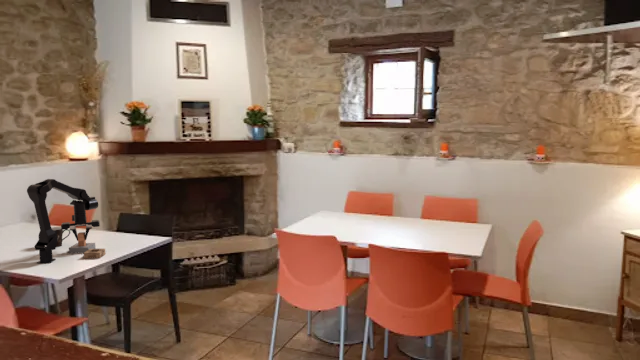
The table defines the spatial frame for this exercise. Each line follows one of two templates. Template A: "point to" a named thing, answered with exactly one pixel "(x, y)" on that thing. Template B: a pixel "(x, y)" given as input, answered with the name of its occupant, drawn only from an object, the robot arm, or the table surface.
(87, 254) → the tan flat square block
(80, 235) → the peg
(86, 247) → the port
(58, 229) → the coffee mug
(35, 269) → the table surface
